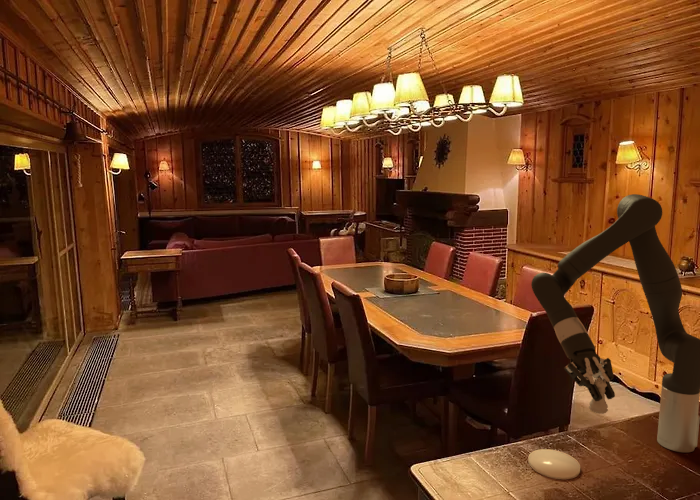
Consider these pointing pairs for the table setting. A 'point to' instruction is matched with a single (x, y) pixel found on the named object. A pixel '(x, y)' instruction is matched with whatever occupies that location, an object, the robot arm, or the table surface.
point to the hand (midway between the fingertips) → (605, 398)
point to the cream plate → (554, 464)
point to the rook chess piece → (600, 405)
